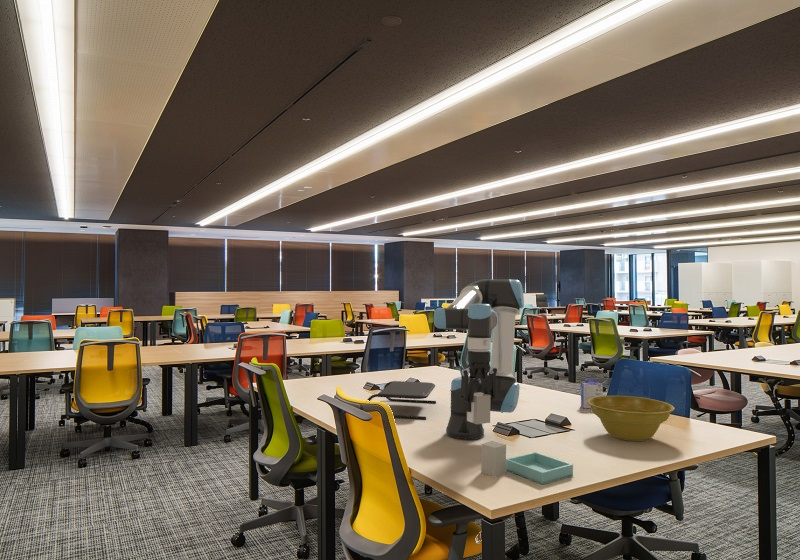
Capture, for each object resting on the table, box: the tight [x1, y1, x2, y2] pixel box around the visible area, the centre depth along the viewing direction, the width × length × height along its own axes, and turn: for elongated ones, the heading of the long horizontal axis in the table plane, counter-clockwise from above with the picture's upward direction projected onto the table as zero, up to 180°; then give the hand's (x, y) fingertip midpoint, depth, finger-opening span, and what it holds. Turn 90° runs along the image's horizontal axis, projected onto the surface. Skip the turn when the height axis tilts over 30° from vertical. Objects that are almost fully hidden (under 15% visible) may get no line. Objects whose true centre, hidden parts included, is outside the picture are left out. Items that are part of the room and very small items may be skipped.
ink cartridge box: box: [580, 377, 604, 409], centre depth 269 cm, size 10×6×14 cm, turn 89°
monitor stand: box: [366, 380, 437, 421], centre depth 259 cm, size 37×28×11 cm
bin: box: [506, 451, 574, 485], centre depth 170 cm, size 15×14×4 cm
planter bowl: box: [587, 395, 676, 442], centre depth 215 cm, size 32×32×13 cm
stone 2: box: [480, 440, 507, 478], centre depth 170 cm, size 6×6×9 cm
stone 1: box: [471, 392, 491, 425], centre depth 177 cm, size 6×6×9 cm
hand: (478, 420), depth 177 cm, fingers closed on stone 1, 5 cm apart
